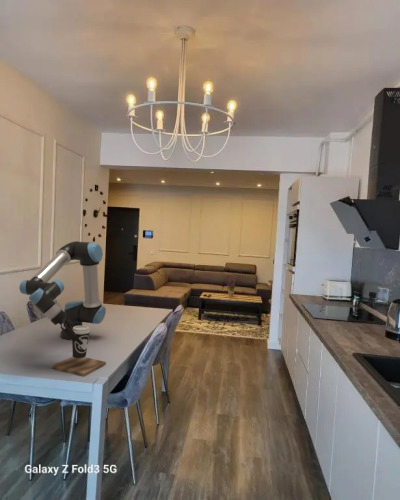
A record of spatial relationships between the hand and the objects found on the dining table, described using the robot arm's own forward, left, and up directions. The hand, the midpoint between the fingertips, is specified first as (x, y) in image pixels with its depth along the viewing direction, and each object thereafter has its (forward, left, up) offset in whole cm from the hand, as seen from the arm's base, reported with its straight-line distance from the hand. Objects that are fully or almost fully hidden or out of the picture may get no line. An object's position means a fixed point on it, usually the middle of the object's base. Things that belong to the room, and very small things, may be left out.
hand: (86, 345), depth 183 cm
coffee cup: (-3, -2, -6) cm, 7 cm away
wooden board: (-3, -2, -11) cm, 12 cm away
